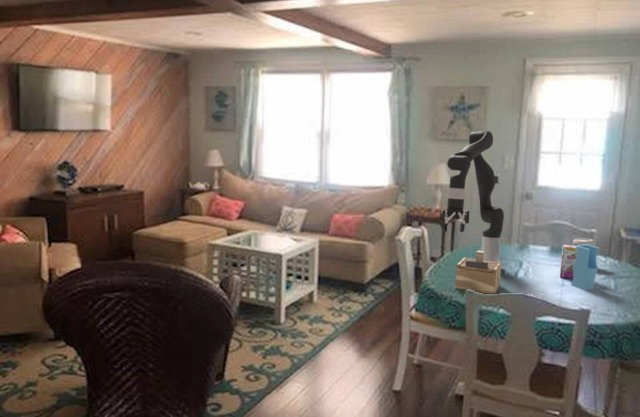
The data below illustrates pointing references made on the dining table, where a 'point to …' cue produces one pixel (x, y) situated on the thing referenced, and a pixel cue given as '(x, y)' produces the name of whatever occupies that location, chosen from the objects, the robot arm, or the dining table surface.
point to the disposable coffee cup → (583, 242)
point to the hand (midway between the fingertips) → (453, 231)
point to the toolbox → (478, 279)
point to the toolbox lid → (478, 265)
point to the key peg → (479, 256)
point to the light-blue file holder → (585, 267)
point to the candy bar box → (568, 261)
